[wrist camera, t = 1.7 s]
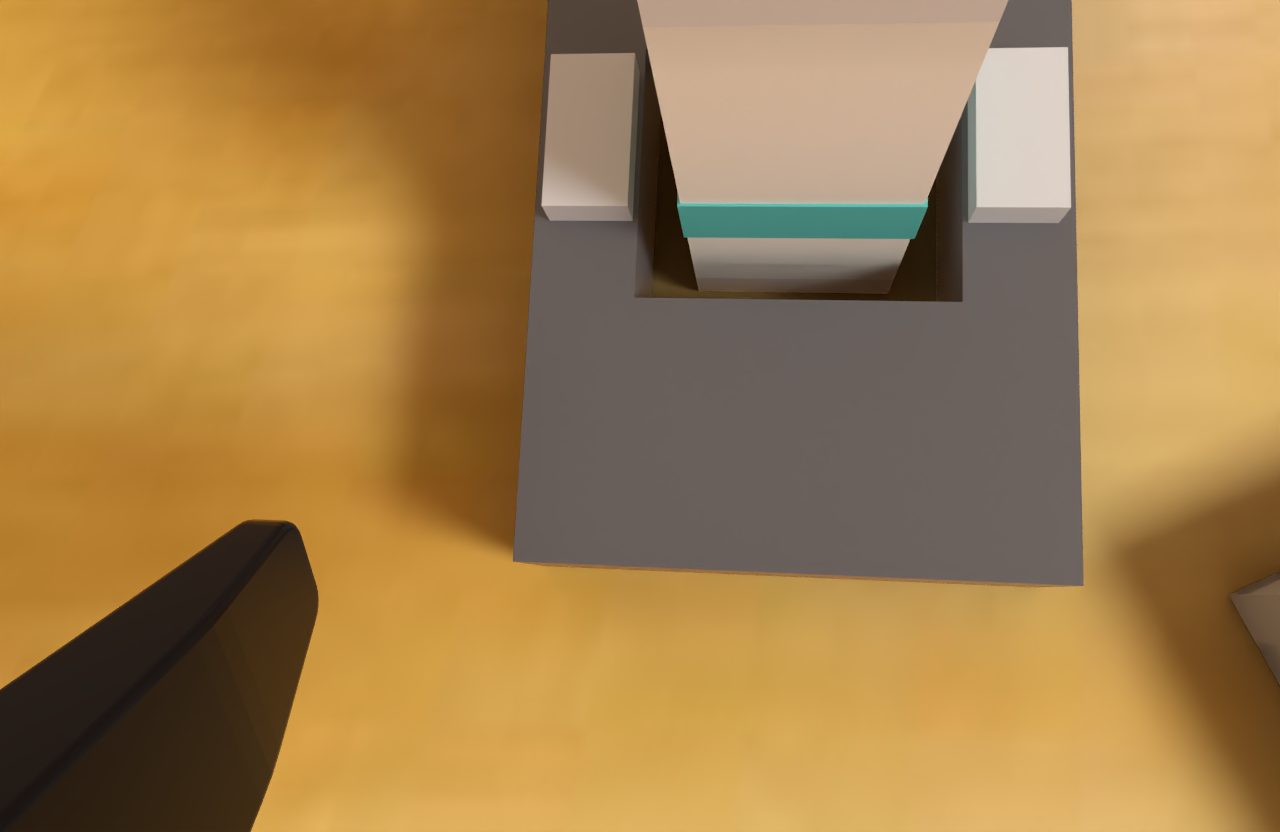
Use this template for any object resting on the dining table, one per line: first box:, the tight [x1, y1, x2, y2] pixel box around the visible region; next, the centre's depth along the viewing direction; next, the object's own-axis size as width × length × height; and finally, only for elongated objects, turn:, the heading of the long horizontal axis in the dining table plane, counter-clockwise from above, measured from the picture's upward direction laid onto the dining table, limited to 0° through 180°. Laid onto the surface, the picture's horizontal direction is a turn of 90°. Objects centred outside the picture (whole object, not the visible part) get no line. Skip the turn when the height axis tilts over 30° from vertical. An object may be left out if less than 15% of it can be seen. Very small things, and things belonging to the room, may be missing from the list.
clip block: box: [513, 0, 1083, 587], centre depth 21 cm, size 16×10×4 cm, turn 177°
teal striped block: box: [637, 0, 1008, 294], centre depth 17 cm, size 4×4×12 cm
